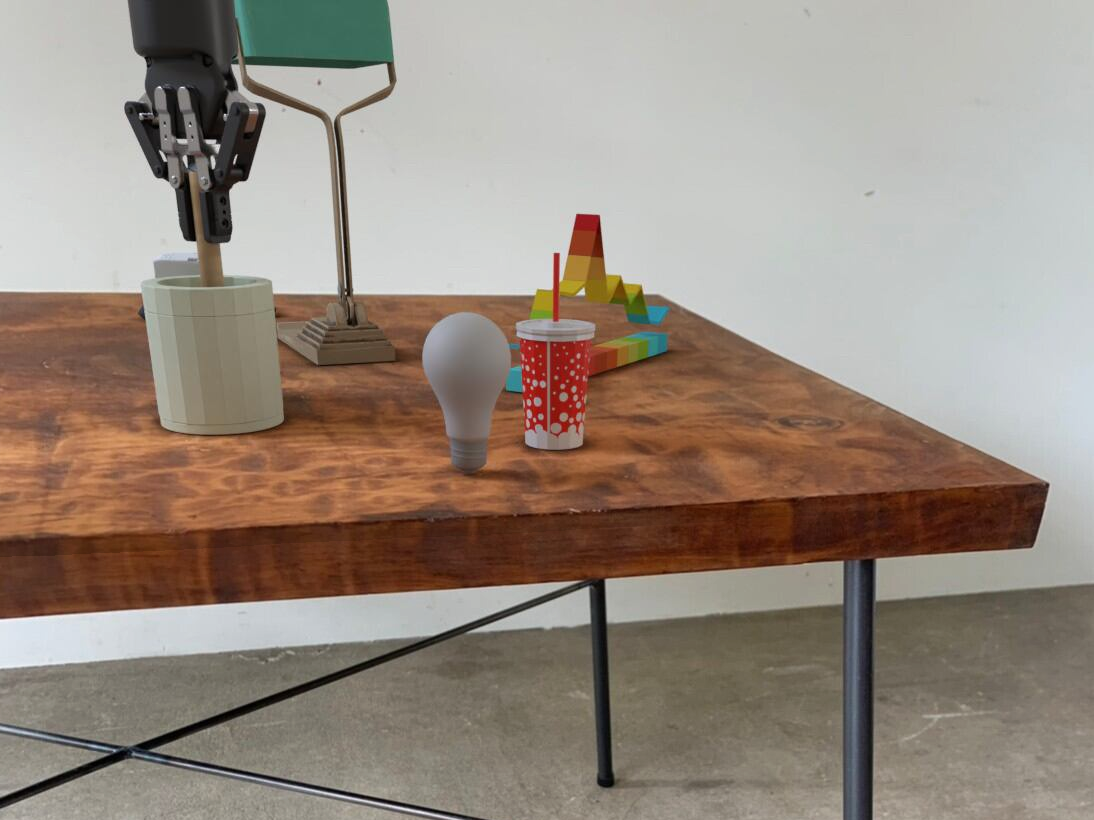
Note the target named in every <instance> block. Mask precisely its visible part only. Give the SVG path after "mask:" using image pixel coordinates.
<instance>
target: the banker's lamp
mask: <svg viewBox="0 0 1094 820" xmlns="http://www.w3.org/2000/svg"><path fill="white" fill-rule="evenodd" d="M234 5H235V16H236V27H237V38H238V49H239V53H238V56H237V57H236V58H235V59H234V60H231V65H232V66H233V65H235V66H238V67H239V72H240V77H241V78H240V79H241V84H242V86H243V87H244V89H246V90H247V92H249V93H251V94H253V95H255V96H258V97H259V98H263V99H266V100H269V101H271V102H274V103H277V104H281V105H283V106H287V107H289V108H292V109H295V110H298V111H300V112H302V113H305V114H309V115H312V116H315V117H317V118H318V119H320V120H321V121H322V122H323V125H324V127H325V131H326V137H327V143H328V145H327V146H328V152H329V153H328V154H329V167H330V168H329V169H330V179H331V180H330V181H331V196H332V198H331V199H332V211H333V225H334V226H333V227H334V240H335V241H334V242H335V254H336V255H335V256H336V270H337V295H338V298H339V300H338V301H339V302H329V303H328V304H327V307H326V316H325V317H321V316H320V317H311V320H306V321H305V320H304V321H283V322H276V332H277V340H280V341H281V342H283V343H284V344H286V345H287V346H289V348H291V349H293V350H295V351H296V352H298V353H299V354H301V355H302V356H304V357H305V358H307V359H308V360H309V361H311V362H312V363H314V364H315V365H317V366H324V365H325V366H326V365H327V366H328V365H343V364H344V365H345V364H358V363H378V362H393V361H396V347H395V345H394V344H392V340H391V339H388V338H387V334H386V333H384V330H383V328H381V327H380V326H379V324H377V323H376V322H373V321H371V320H369V317H368V311H367V308H366V305H365V303H364V301H363V302H362V301H354V287H353V285H354V284H353V271H352V255H351V237H350V223H349V221H350V220H349V205H348V189H347V174H346V173H347V172H346V159H345V146H344V138H343V132H342V125H341V119H342V117H343V116H346V115H349V114H352V113H353V112H356V111H358V110H361V109H363V108H366V107H368V106H369V107H370V106H371V105H374V104H376V103H378V102H381V101H383V100H386V99H387V98H388V97H390V95H391V94H392V93H393V91H394V90H395V86H396V84H397V82H398V80H397V79H398V78H397V73H396V67H395V56H394V45H393V37H392V35H393V34H392V25H391V24H392V23H391V15H390V14H391V13H390V6H389V1H388V0H234ZM380 65H386V68H387V74H388V81H389V85H388V86H386V87H384V88H383V89H381V90H379V91H377V92H375V93H372V94H371V95H369V96H367V97H365V98H363V99H360V100H358V101H357V102H355V103H353V104H351V105H349V106H346V107H345V108H343V109H342V110H341V111H339V112H338V114H337V115H336V116H335V118H334V120H333V121H332V119H331V117H330V115H329V114H328V113H327V112H326V111H324V110H323V109H321V108H320V107H317V106H315V105H312V104H310V103H307V102H305V101H302V100H300V99H299V98H296V97H293V96H291V95H288V94H286V93H283V92H281V91H279V90H277V89H274V88H272V87H270V86H267V85H264V84H262V83H261V82H257V81H256V80H254V79H253V78H251V77H250V76H249V75H248V72H247V66H259V67H260V66H263V67H286V68H287V67H289V68H290V67H291V68H311V69H312V68H314V69H315V68H316V69H338V70H342V69H343V70H349V69H350V70H351V69H352V70H354V69H361V68H367V67H374V66H380Z"/></svg>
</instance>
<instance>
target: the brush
mask: <svg viewBox="0 0 1094 820" xmlns="http://www.w3.org/2000/svg"><path fill="white" fill-rule="evenodd" d="M188 173H189V182H190V191H191V200H192V208H193V217H194V226H195V235H196V242H195V244H196V250H197V252H196V253H198V261H199V270H200V278H201V287H224V277H223V275H224V268H223V260H222V251H221V243H217V244H214V243H207V242H206V241H205V239H204V234H203V225H202V216H201V207H200V198H199V191H204V190H203V189H202V188H201V187H200V185H199V180H198V173H197V172H188Z"/></svg>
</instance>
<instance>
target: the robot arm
mask: <svg viewBox="0 0 1094 820" xmlns="http://www.w3.org/2000/svg"><path fill="white" fill-rule="evenodd" d="M127 7H128V15H129V23H130V30H131V37H132V39H131V40H132V45H133V49H134V52H135V53H136V54H137V55H138V56H139V57H142V58H143V59H144V60H145V64H146V71H145V72H146V73H145V78H144V91H145V92H144V93H143V95H142V96H141V97H140V98H138V100H137V101H135V100H133V101H132V100H126V102H125V103H124V107H123V109H124V114H125V116H126V119H127V120H128V123H129V125H130V127H131V129H132V131H133V133H134V136H135V137H136V140H137V142H138V144H139V146H140V148H141V150H142V152H143V155H144V157H145V159H146V161H147V163H148V165H149V167H150V170H151V172H152V174H153V176H154V177H155V179H158V180H159V179H162V180H165V181H166V182H167V183H169V184H170V185H169V186H171V188H172V189H174V191H175V199H176V200H175V201H176V208H177V217H178V224H179V229H180V231H181V234H182V237H183V240H184V241H187V242H191V243H192V242H194V243H196V235H195V226H194V217H193V208H192V200H191V191H190V182H189V173H188V172H197V173H198V180H199V185H200V187H201V188H202V189H203V190H204V191H199V198H200V207H201V216H202V225H203V234H204V239H205V241H206V242H207V243H214V244H217V243H220V244H227V243H230V241H231V239H232V235H233V227H234V226H233V220H232V219H233V218H232V208H231V199H230V198H231V197H230V191H231V190H232V189H233V187H234V185H236V184H237V183H239V182H241V183H242V182H244V183H245V182H247V181H248V180H249V177H250V174H251V170H252V166H253V163H254V160H255V156H256V152H257V149H258V145H259V141H260V138H261V134H262V130H263V127H264V124H265V120H266V116H267V110H266V107H265V106H264V104H263V103H261V102H253V101H250V100H249V99H248V98H246V96H244V95H243V94H242V93H241V92H239V84H238V81H237V78H236V76H235V74H234V70H233V67H232V66H233V65H232V64H231V60H234V59H235V58H236V57H237V56H238V53H239V49H238V38H237V27H236V16H235V5H234V0H127ZM178 140H187V141H186V142H183V143H182V142H179V141H178ZM207 141H215V143H207ZM161 153H163V155H164V157H165V161H164V157H163V156H162V154H161ZM185 156H186V162H185V161H184V157H185ZM212 157H213V158H214V163H215V165H214V168H213V164H212ZM186 163H187V166H186Z"/></svg>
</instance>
